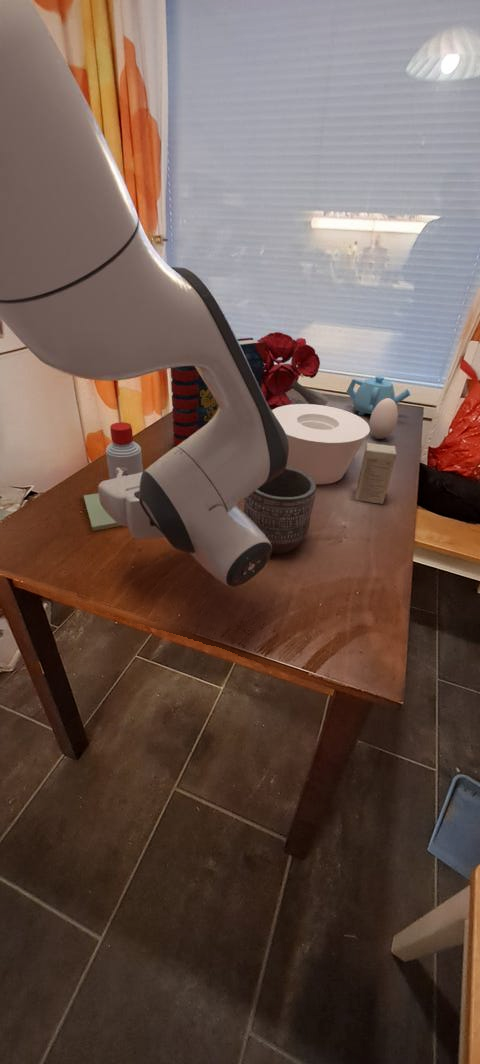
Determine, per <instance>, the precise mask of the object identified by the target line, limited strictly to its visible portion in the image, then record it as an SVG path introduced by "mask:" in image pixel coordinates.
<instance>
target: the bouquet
mask: <svg viewBox="0 0 480 1064" xmlns="http://www.w3.org/2000/svg"><path fill="white" fill-rule="evenodd" d="M256 341H257V342H265V344H266V348H265V356H264V365H263V377H262V389H261V391H262V393H263V395H264V397H265V400H266V402H267V404H268V405H269V407H270V409H271V410H273V409H275V408H278V407H281V406H285V405H292V402H291V400H290V398H289V396H288V395H287V393H288V392H289V391H291V390H294V391H296V392H297V393H298V394H300V395H301V397H302V398H303V399H304V400H305V401H306V403H307V404H314V405H323V406H327V404H328V401H329V398H328V397H327V396H326V395H324V394H323V393H320V392H318V391H315V390H312V389H310V388H307V387H305V386H303V385H302V384H300V382H298V381H299V378H300V377H302V378H304V377H306V378H309V379H314V378H316V376H317V374H318V372H319V370H320V365H321V360H320V357H319V355H318V354H317V353H316V349H315V348H314V347H313V346H311V345H309V344H307V340H306V338H303V337H299V338H298V337H297V338H296V339H293V337H292V336H291V335H288V334H285V333H284V332H281V331H275V332H269V333H268V334H266V335H264V336H262V337H261V338H260V339H257V340H256ZM289 361H290V363H288V362H289ZM275 363H276V364H275Z"/></svg>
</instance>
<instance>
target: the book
mask: <svg viewBox="0 0 480 1064" xmlns="http://www.w3.org/2000/svg"><path fill="white" fill-rule="evenodd" d="M237 340H238V342H239V344H240V346H241V348H242V350H243V352H244V354H245V356H246V359H247V361H248V363H249V365H250V367H251V369H252V372H253V374H254V376H255V378H256V380H257V382H258V385H259V387H260V389H262V377H263V365H264V356H265V348H266V344H265V342H257V341H258V340H254V338H253V337H246V338H237ZM170 378H171V382H170V385H171V393H172V395H171V406H172V409H171V411H172V413H171V414H172V420H173V421H172V432H173V434H172V435H173V439H172V440H173V445H174V447H176V446H178V445H179V444H180V443H182V442H183V441H185V440H186V439H187V438H189V437H190V436H191V435H193V434H194V433H195V432H197V431H198V430H199V429H201V428H202V427H203V426H205V425H206V424H207V423H208V422H209V421H210V420H211V419H212V418H213V417H214V415H215V414H216V412H217V410H218V408H219V405H218V403H217V402H216V400H215V398H214V397H213V395H212V393H211V392H210V390H209V389H208V387H207V385H206V384H205V382H204V381H203V379H202V377H201V376H200V374H199V372H198V371H197V369H196V368H195V366H182V367H175V368H170Z"/></svg>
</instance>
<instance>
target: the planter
mask: <svg viewBox="0 0 480 1064" xmlns="http://www.w3.org/2000/svg"><path fill="white" fill-rule="evenodd" d="M316 490H317V484H316V483H315V481H314V479H313V478H312V477H311V476H310V475H308V474H307V473H305V472H303V471H301V470H298V469H295V468H291V467H286V468H285V470H284V472H283V473H281V474H280V475H278V476H277V477H275V478H274V479H272V480H271V481H269V482H268V483H266V484H265V485H263V486H262V487H259V488H258V489H257V490H256V491H254V492H253V493H252V494H251V495H249V496H248V497H247V498H246V499H244V500H243V501H244V502H243V503H244V504H243V512H244V513H245V514H246V515H247V516H248V517H249V518H250V519H251V520H252V521H253V522H254V523H255V524H256V525H257V526H258V527H259V528H260V530H261V531H262V532H263V533H264V534H265V536H266V537H267V538H268V540H269V541H270V543H271V545H272V552H271V555H272V554H273V555H281V554H285V553H288V552H290V551H291V550H293V549H294V548H295V547H296V546H298V545H299V544H300V543H301V542H302V541H303V540H305V538H306V536H307V535H308V533H309V530H310V529H309V528H310V525H311V524H310V523H311V517H312V512H313V508H314V503H315V499H316V492H317V491H316Z"/></svg>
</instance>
